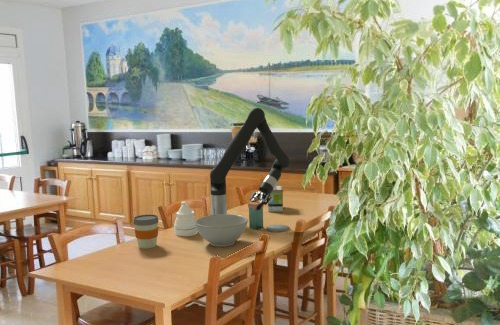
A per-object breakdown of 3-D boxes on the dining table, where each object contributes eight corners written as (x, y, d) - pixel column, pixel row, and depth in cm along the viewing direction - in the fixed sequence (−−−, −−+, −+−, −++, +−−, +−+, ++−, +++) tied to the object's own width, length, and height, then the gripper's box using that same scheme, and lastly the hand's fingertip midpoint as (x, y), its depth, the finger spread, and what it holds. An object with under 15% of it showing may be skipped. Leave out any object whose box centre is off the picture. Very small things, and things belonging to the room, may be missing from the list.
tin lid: (255, 211, 276) (255, 204, 275) (248, 209, 280) (247, 203, 280) (263, 209, 280) (263, 202, 279) (256, 208, 284) (256, 201, 284)
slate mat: (272, 233, 269) (272, 231, 269) (263, 227, 281) (263, 226, 281) (293, 230, 274) (293, 228, 274) (283, 225, 286) (283, 223, 286)
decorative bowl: (237, 233, 271) (236, 212, 269) (256, 246, 246) (255, 222, 245) (189, 240, 261) (188, 217, 259) (205, 254, 236) (204, 229, 234)
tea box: (283, 211, 319) (283, 189, 318) (267, 212, 320) (267, 189, 318) (282, 206, 334) (282, 185, 332) (267, 207, 335) (267, 185, 333)
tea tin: (256, 229, 278) (255, 208, 276) (249, 227, 282) (248, 207, 280) (263, 227, 281) (262, 207, 280) (256, 226, 285) (256, 205, 284)
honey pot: (193, 236, 267) (192, 204, 265) (171, 235, 270) (169, 203, 268) (200, 230, 280) (199, 199, 278) (179, 229, 282) (177, 198, 280)
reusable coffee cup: (135, 250, 245) (133, 221, 243) (134, 243, 257) (132, 215, 255) (161, 248, 248) (159, 218, 246) (158, 241, 260) (157, 213, 258)
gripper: (256, 179, 288) (241, 202, 282) (273, 182, 278) (258, 206, 271) (263, 187, 292) (248, 210, 286) (280, 190, 282) (265, 214, 276)
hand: (253, 208), depth 279 cm, fingers closed on tin lid, 6 cm apart
